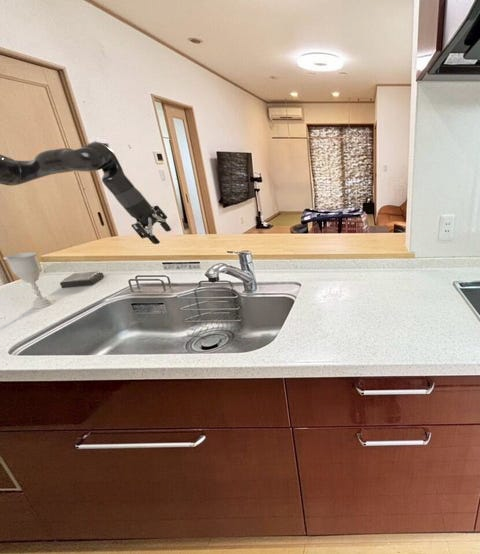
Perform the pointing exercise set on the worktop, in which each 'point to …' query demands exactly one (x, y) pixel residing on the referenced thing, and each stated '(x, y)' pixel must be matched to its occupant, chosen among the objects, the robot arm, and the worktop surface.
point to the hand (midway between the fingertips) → (163, 237)
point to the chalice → (28, 274)
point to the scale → (82, 279)
